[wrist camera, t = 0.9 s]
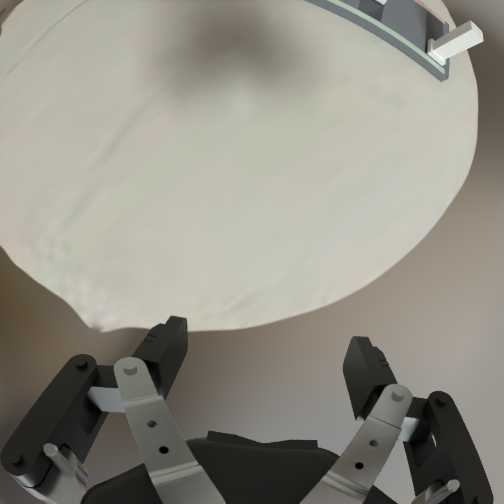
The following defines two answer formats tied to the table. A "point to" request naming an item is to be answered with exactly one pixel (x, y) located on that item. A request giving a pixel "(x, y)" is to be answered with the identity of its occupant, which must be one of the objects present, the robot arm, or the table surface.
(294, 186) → the table surface
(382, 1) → the handle
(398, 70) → the table surface
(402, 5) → the board
